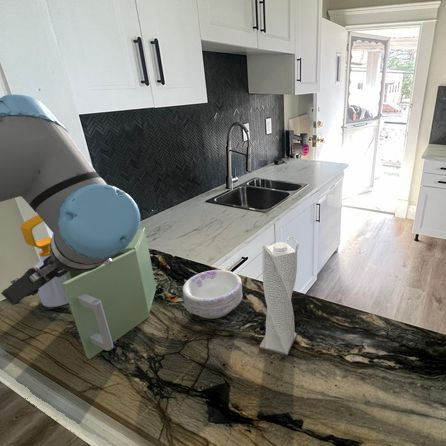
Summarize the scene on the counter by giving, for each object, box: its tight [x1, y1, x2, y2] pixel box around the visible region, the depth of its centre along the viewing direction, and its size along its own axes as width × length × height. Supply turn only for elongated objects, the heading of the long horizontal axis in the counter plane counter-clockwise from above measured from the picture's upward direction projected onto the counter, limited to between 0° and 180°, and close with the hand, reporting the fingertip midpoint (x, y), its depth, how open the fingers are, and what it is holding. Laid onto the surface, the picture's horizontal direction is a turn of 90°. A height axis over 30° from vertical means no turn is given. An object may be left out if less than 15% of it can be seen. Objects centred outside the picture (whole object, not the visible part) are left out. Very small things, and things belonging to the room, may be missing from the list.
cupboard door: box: [62, 250, 150, 360], centre depth 71 cm, size 7×16×20 cm, turn 154°
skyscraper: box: [258, 236, 300, 356], centre depth 69 cm, size 8×8×28 cm
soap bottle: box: [20, 214, 69, 308], centre depth 84 cm, size 9×9×25 cm
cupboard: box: [65, 227, 157, 313], centre depth 83 cm, size 12×16×20 cm
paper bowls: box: [182, 269, 243, 320], centre depth 85 cm, size 15×15×8 cm
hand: (68, 264), depth 60 cm, fingers open, 13 cm apart
